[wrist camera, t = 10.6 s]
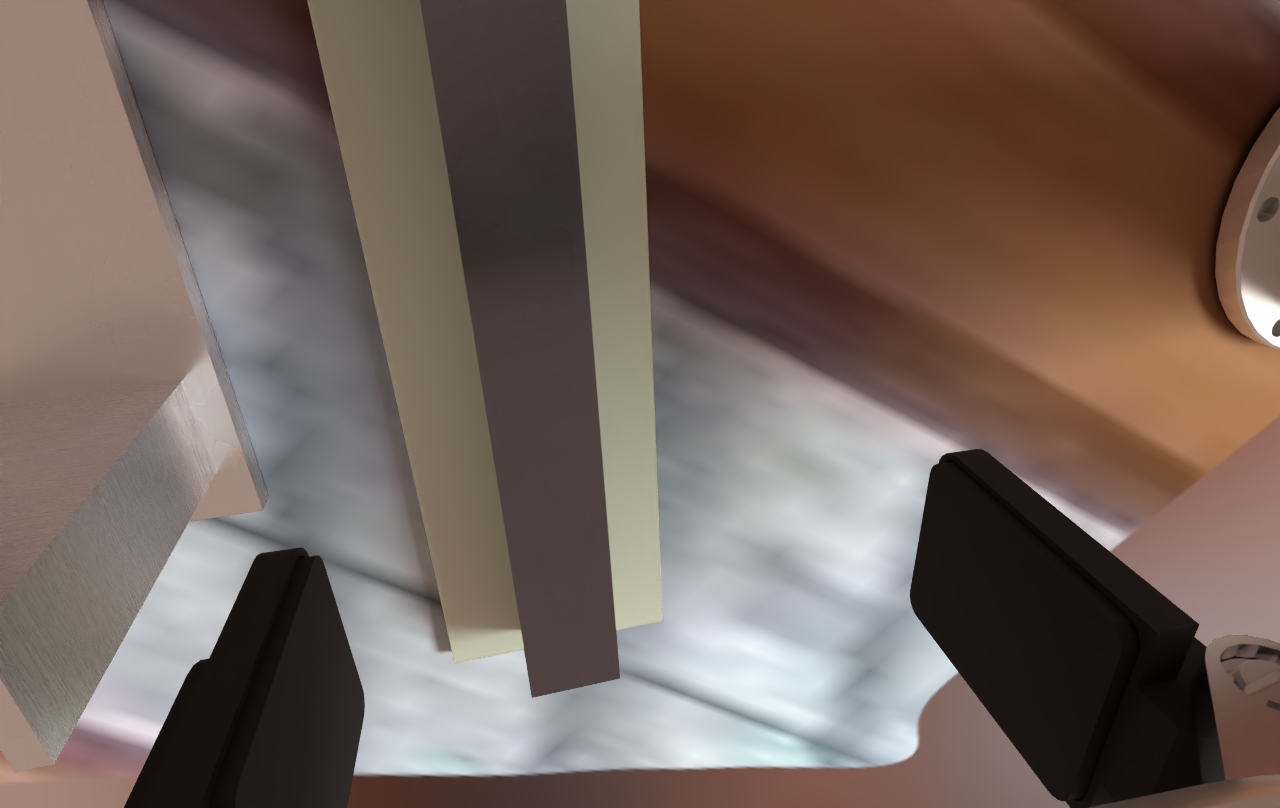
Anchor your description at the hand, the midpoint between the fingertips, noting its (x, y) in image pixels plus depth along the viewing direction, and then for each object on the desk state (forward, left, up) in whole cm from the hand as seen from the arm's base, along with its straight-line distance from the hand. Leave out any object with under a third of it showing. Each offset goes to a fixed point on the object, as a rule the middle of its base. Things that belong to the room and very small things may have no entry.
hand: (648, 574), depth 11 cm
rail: (+1, 0, -12) cm, 12 cm away
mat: (+1, 0, -13) cm, 13 cm away
